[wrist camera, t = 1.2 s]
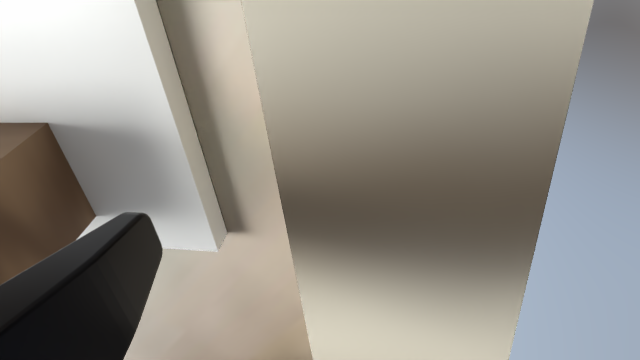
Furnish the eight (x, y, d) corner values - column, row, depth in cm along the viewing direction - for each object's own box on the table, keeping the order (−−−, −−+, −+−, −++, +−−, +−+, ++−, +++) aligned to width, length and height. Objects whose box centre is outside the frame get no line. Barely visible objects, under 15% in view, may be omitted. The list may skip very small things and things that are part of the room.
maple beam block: (477, 231, 16) (498, 401, 11) (348, 225, 17) (316, 380, 12) (538, -233, 9) (665, -301, 4) (307, -198, 10) (196, -221, 5)
